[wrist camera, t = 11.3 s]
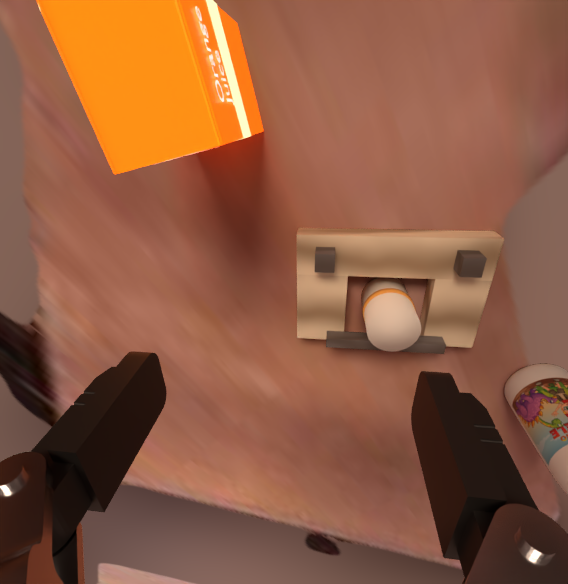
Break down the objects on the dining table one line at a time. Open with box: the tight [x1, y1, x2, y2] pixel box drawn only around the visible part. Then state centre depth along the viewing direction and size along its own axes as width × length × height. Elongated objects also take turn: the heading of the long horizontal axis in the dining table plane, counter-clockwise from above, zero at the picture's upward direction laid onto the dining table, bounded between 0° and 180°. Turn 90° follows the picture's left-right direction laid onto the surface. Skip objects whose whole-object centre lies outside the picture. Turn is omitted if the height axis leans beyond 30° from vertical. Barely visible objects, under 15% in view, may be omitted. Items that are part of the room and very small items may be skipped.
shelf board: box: [297, 228, 504, 354], centre depth 37 cm, size 13×20×4 cm, turn 91°
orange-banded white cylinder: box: [361, 277, 421, 351], centre depth 37 cm, size 5×5×7 cm
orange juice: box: [36, 0, 264, 174], centre depth 23 cm, size 8×9×20 cm
